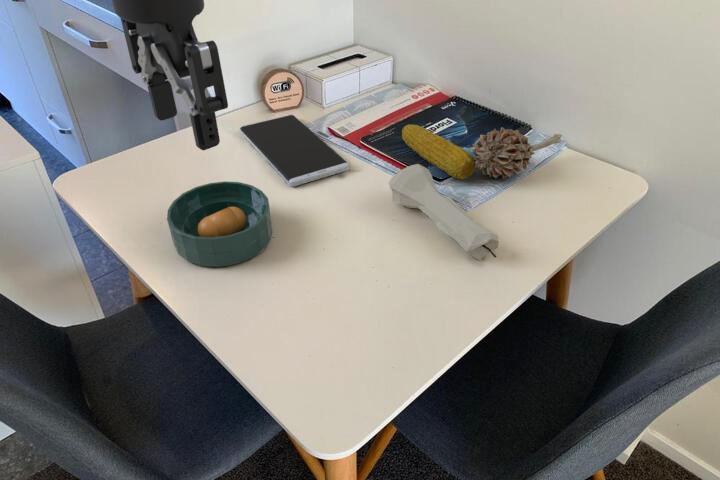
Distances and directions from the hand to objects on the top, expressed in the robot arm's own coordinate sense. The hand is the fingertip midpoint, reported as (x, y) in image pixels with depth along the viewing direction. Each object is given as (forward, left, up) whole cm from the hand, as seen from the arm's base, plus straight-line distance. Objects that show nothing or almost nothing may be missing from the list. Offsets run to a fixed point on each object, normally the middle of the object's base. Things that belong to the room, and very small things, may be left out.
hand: (187, 131), depth 53 cm
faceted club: (+36, +15, -30) cm, 50 cm away
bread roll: (0, +21, -30) cm, 36 cm away
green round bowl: (0, +21, -30) cm, 37 cm away
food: (+43, +38, -30) cm, 65 cm away
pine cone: (+58, +31, -30) cm, 72 cm away
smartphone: (+15, +48, -30) cm, 59 cm away
